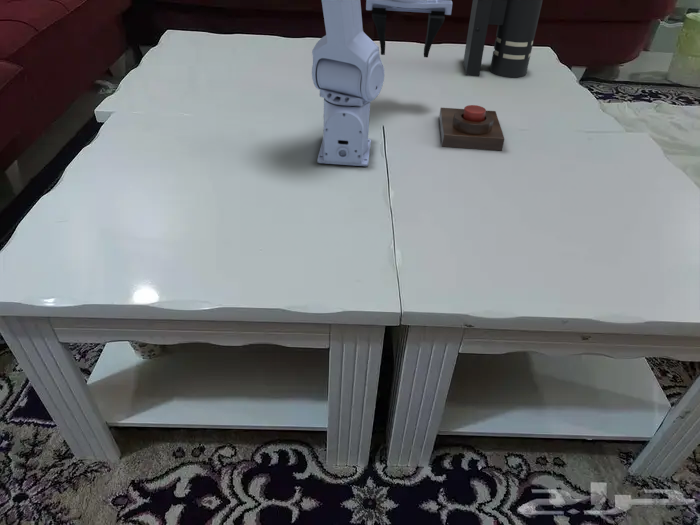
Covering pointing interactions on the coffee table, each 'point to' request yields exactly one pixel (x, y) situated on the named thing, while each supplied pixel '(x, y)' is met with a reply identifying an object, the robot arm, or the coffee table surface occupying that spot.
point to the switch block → (470, 130)
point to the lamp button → (474, 113)
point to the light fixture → (502, 35)
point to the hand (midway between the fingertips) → (404, 54)
